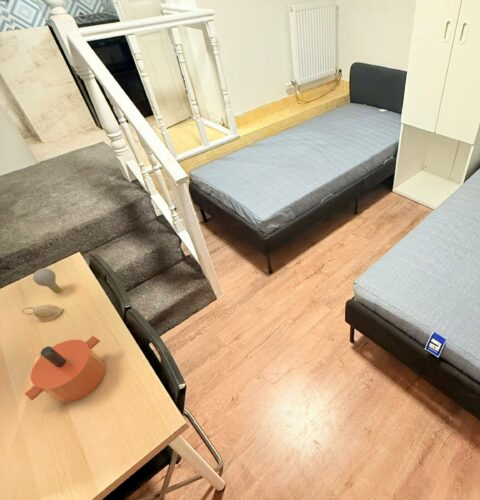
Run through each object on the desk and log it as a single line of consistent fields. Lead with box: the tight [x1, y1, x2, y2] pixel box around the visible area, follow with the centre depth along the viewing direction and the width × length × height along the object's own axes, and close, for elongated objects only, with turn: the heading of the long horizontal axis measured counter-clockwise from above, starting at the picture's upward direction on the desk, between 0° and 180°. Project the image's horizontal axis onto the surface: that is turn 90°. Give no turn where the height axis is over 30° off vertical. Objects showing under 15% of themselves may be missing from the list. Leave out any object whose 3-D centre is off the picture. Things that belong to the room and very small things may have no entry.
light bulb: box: [32, 267, 61, 293], centre depth 108 cm, size 5×6×10 cm
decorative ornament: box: [20, 304, 64, 322], centre depth 102 cm, size 4×8×5 cm, turn 99°
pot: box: [24, 335, 106, 403], centre depth 86 cm, size 12×18×8 cm
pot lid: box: [30, 339, 90, 390], centre depth 81 cm, size 13×13×7 cm
